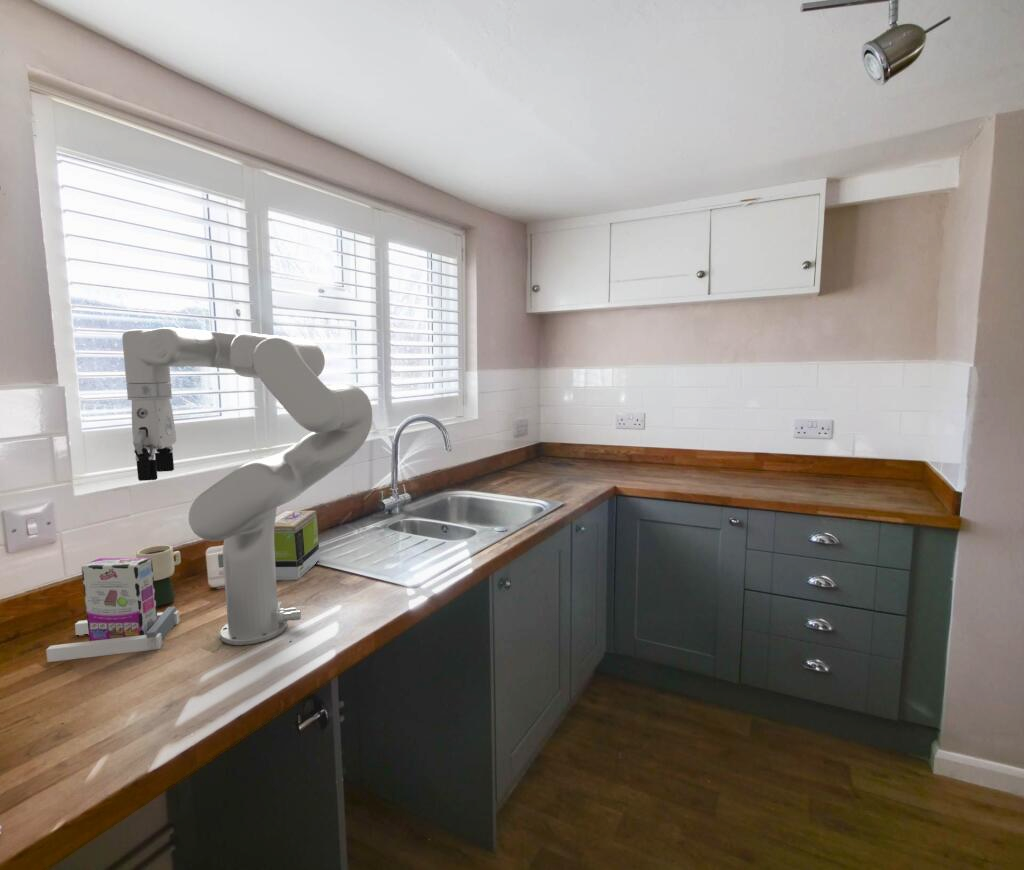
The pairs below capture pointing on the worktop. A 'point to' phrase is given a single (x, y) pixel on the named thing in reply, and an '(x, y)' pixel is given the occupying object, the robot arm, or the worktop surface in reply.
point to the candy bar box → (119, 597)
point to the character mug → (162, 570)
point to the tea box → (295, 543)
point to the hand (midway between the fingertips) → (157, 475)
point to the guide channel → (116, 640)
